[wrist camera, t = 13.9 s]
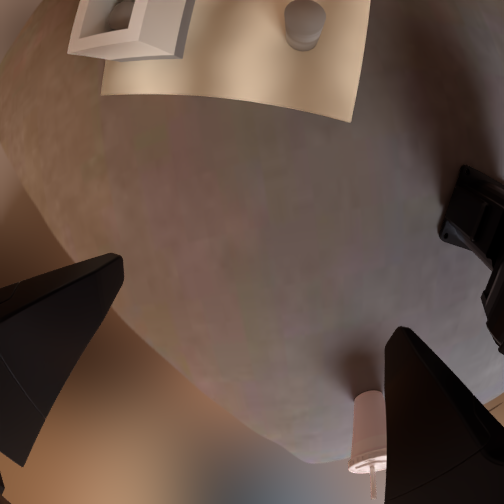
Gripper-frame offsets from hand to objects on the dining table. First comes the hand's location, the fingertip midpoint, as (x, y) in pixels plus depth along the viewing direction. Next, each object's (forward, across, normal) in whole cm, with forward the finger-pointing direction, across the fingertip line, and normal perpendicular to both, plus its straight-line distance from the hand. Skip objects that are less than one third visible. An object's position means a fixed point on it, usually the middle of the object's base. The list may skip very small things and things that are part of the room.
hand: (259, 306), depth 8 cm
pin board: (+13, +6, -11) cm, 18 cm away
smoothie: (+13, -17, +22) cm, 30 cm away
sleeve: (+12, +11, -10) cm, 19 cm away
